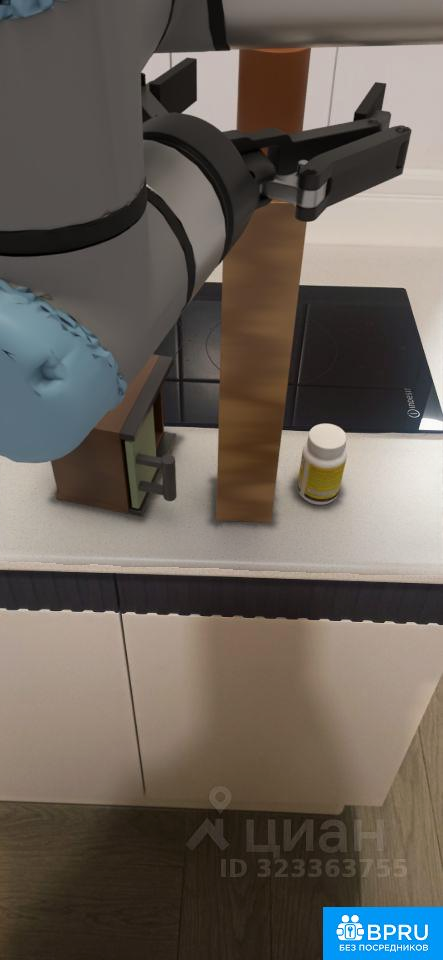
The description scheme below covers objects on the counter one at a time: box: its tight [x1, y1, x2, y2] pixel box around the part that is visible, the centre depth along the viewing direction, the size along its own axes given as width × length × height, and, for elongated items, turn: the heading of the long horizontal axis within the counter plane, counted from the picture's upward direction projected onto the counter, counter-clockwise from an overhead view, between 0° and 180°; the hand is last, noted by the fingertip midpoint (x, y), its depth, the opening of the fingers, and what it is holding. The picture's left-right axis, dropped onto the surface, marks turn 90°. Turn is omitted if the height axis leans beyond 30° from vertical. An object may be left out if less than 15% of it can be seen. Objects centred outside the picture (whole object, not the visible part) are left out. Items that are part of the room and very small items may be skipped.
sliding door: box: [125, 406, 178, 509], centre depth 70 cm, size 5×6×10 cm
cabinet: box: [50, 354, 177, 517], centre depth 73 cm, size 10×13×12 cm
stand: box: [215, 199, 308, 523], centre depth 62 cm, size 6×6×35 cm
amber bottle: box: [235, 48, 312, 156], centre depth 45 cm, size 5×5×11 cm
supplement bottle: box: [296, 423, 348, 506], centre depth 73 cm, size 5×5×8 cm
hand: (281, 91), depth 47 cm, fingers open, 13 cm apart
